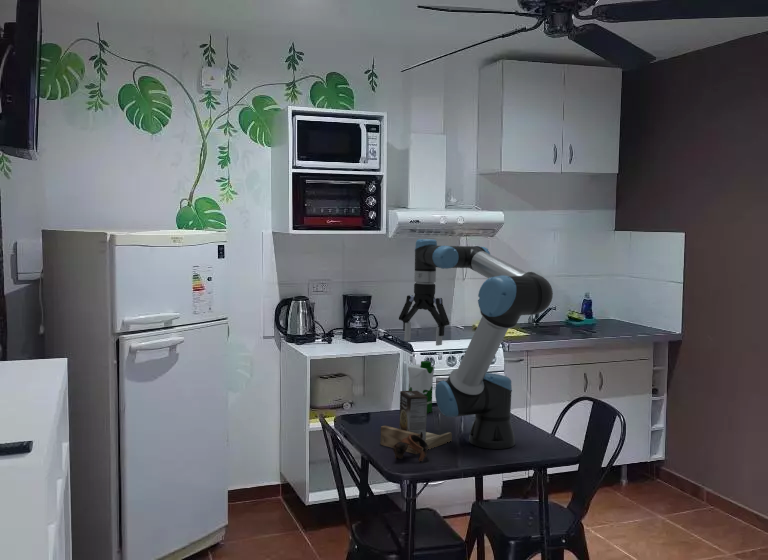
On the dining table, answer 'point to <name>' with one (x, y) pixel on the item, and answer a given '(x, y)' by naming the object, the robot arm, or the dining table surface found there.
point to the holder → (396, 435)
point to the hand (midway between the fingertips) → (422, 342)
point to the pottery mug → (411, 446)
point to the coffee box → (413, 412)
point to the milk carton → (422, 380)
